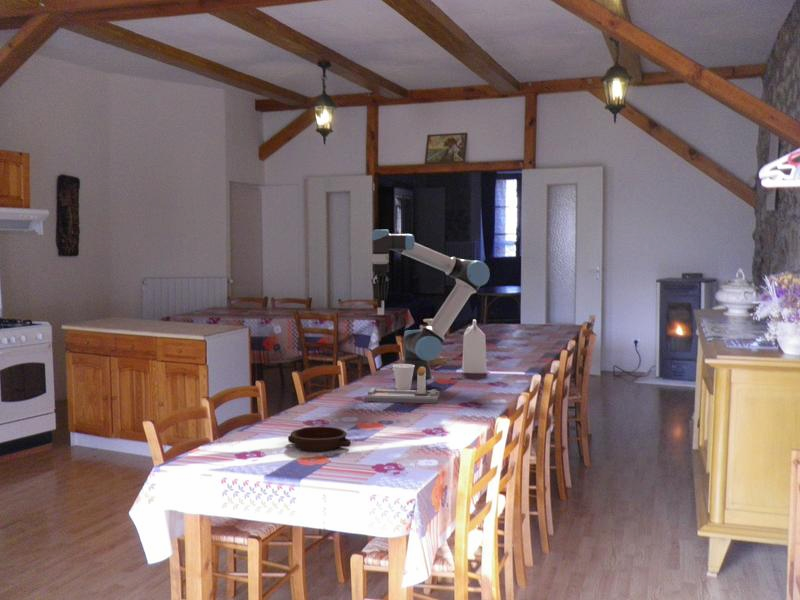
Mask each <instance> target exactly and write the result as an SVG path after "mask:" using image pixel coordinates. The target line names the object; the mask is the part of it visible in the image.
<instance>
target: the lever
mask: <svg viewBox="0 0 800 600" xmlns="http://www.w3.org/2000/svg"><path fill="white" fill-rule="evenodd" d="M426 379H427V378H426V369H425V367H423V366H422V367H419V369H418V370H417V379H416V380H417V382H416V388H417V389H416V390H417V391H416V392H415V394H414V396H427V395H428V391H429V390H426V389H427V388H426V387H427V386H426V385H427V384H426Z"/></svg>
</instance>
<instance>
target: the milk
mask: <svg viewBox="0 0 800 600" xmlns="http://www.w3.org/2000/svg"><path fill="white" fill-rule="evenodd" d="M486 340H487V339H486V334H485V333H484V331H482V330H481V329H480V327H478V326H477V320H476V319H472V325H469V326H467V328H465V331H464V333H463V340H462V341H463V342H462V343H463V344H462V362H461V363H462V372H463V374H487V373H488V371H487V343H486Z"/></svg>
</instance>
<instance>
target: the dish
mask: <svg viewBox="0 0 800 600" xmlns="http://www.w3.org/2000/svg"><path fill="white" fill-rule="evenodd" d="M347 435H348V434H347V432H346V430H344V429H342V428H339V427H332V426H331V427H330V426H311V427H310V426H308V427H302V428H299V429H295V430H293V431H291V433H290V435H288V436H287V440H288V443H290V444H293V445H295V446H296V448H297V449H299V450H301V451H305V452H314V453H316V452H326V451H331V450H335V449H339V448H341V447H343V448H346V447H350V446H351V443H352V442H351V440H350V439H348V438H346V437H347Z"/></svg>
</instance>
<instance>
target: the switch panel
mask: <svg viewBox="0 0 800 600" xmlns="http://www.w3.org/2000/svg"><path fill="white" fill-rule="evenodd" d="M416 391H417V389H416V390H413V389H412V390H411V389H410V390H397V389H377V387H370V388H369V390H368V391H367V394H366V393H365V394H364V402H368V401H376V402H375V403H377V402H379V403H408V404H409V403H411V404H413V403H415V404H437V403H438V401H439V399H438V398H440V390H437V389H436V388H435V389H433V388H432V389H431V390H427V391H428V395H427V396H414V394H415V392H416Z"/></svg>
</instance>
